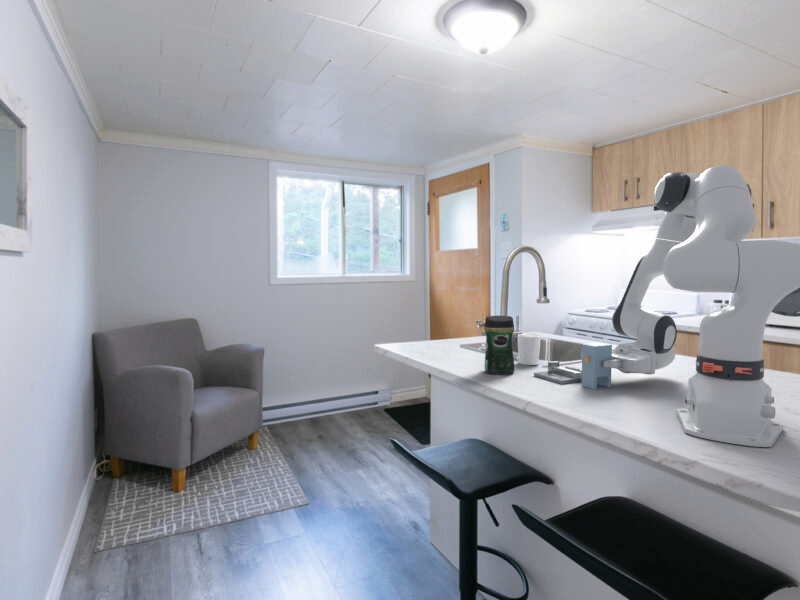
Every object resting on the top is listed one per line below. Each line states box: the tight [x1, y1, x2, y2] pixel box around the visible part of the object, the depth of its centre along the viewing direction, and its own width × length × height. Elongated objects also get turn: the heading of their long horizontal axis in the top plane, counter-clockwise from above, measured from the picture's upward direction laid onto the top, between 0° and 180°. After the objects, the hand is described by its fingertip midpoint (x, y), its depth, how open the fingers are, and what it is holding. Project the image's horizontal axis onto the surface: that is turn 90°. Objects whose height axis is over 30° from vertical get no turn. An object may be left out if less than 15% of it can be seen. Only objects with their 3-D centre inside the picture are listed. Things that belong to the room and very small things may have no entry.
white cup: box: [517, 333, 542, 366], centre depth 165 cm, size 8×8×10 cm
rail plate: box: [533, 360, 582, 385], centre depth 143 cm, size 12×14×4 cm
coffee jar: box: [483, 314, 516, 375], centre depth 151 cm, size 10×8×19 cm
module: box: [581, 342, 613, 390], centre depth 132 cm, size 4×7×12 cm, turn 115°
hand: (594, 362), depth 132 cm, fingers closed on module, 4 cm apart
